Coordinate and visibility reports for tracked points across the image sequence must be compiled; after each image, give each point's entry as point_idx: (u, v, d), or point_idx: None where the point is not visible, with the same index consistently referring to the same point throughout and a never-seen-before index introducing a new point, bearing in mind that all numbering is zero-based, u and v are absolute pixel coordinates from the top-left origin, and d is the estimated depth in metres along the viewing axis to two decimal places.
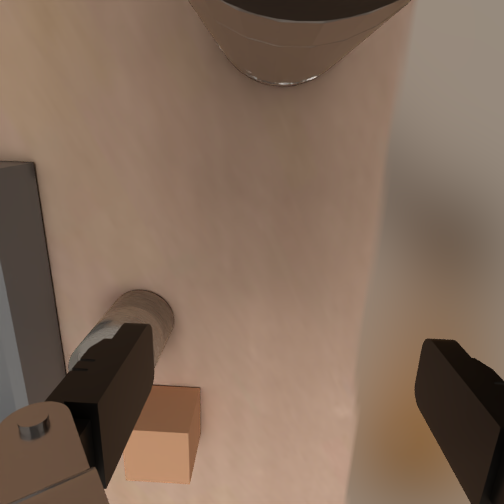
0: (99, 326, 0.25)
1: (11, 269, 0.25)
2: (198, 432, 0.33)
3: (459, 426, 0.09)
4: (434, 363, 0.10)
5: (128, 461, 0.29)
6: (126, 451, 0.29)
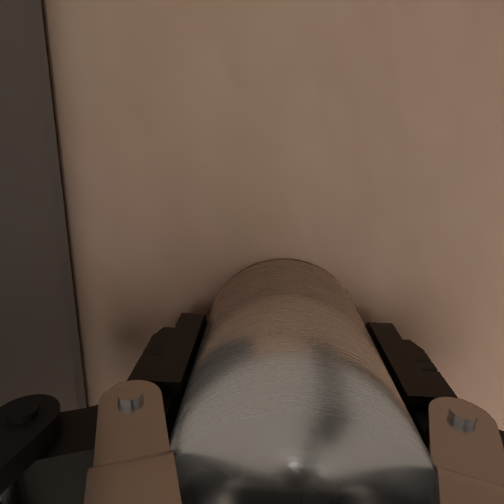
0: (242, 355, 0.07)
1: None
2: None
3: None
4: None
5: None
6: None
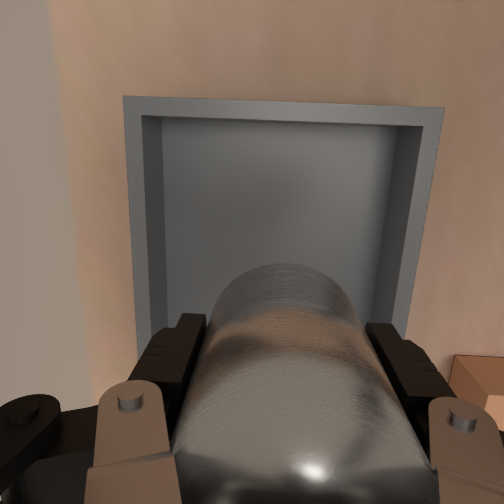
0: (242, 360, 0.07)
1: None
2: None
3: None
4: None
5: None
6: None
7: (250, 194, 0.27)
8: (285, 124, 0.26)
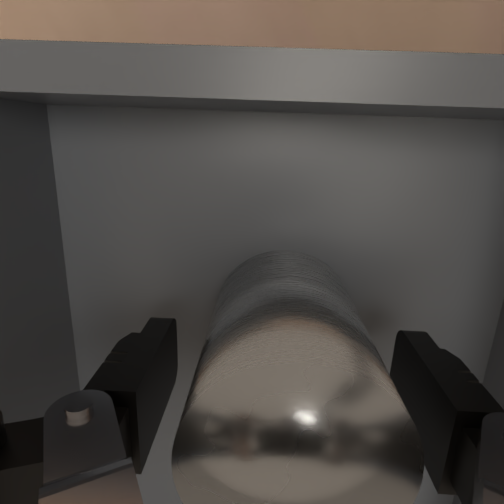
0: (249, 324, 0.09)
1: None
2: None
3: (425, 412, 0.09)
4: (405, 353, 0.11)
5: None
6: None
7: (235, 257, 0.14)
8: (306, 116, 0.12)
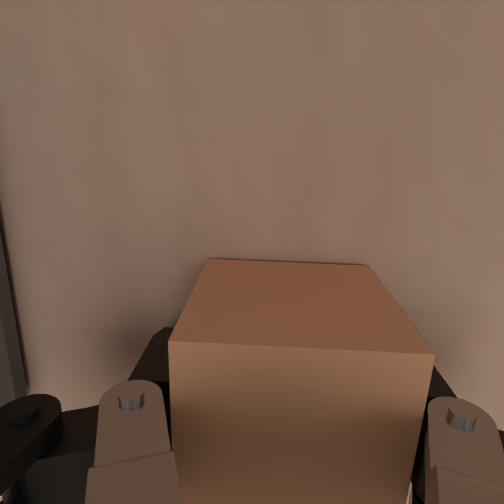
0: None
1: None
2: None
3: None
4: None
5: (189, 468, 0.08)
6: (182, 431, 0.08)
7: None
8: None
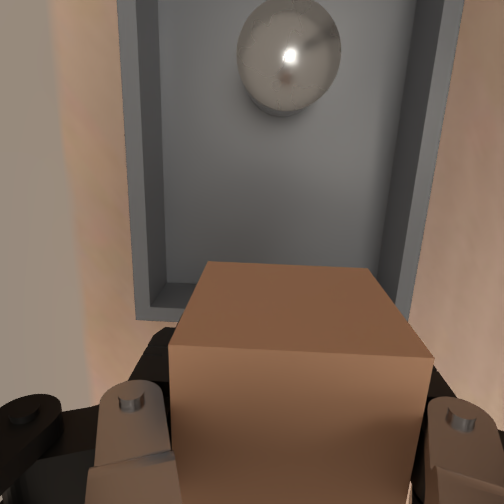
0: None
1: None
2: None
3: None
4: None
5: (189, 471, 0.08)
6: (182, 434, 0.08)
7: None
8: None
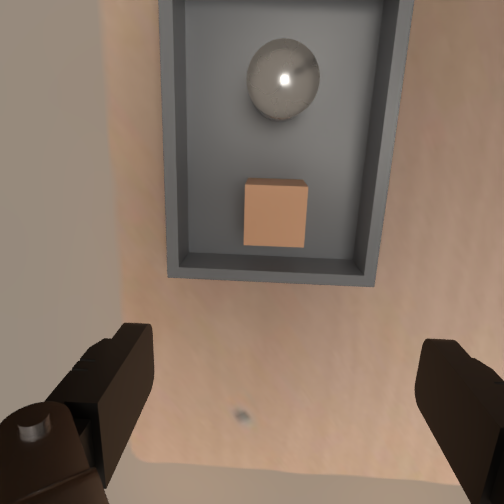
0: None
1: None
2: None
3: (459, 427, 0.09)
4: (434, 363, 0.10)
5: (248, 222, 0.31)
6: (247, 210, 0.31)
7: None
8: None
